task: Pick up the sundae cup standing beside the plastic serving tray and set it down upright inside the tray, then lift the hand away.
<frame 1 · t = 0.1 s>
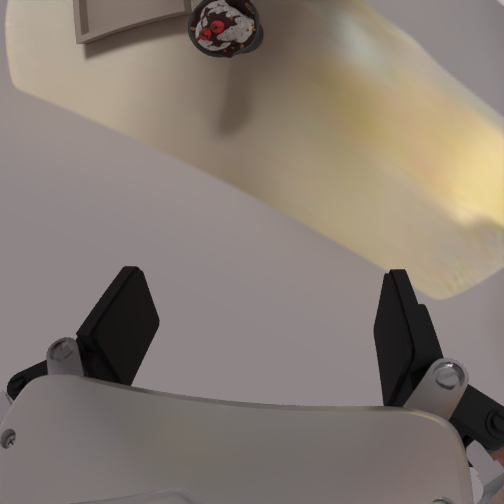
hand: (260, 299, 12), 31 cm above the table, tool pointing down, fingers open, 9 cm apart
sundae: (242, 35, 32), on the table
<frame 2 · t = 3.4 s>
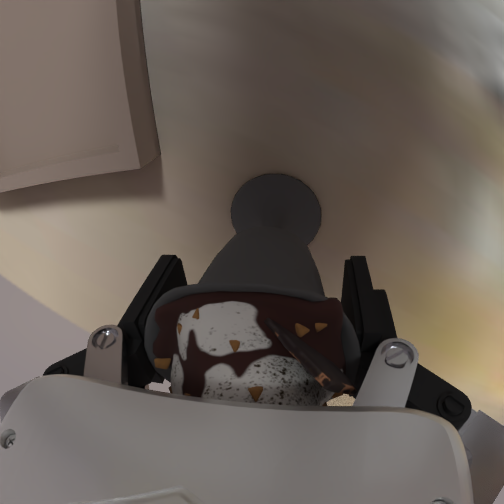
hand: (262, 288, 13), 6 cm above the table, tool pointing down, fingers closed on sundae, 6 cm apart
tray: (32, 31, 13), on the table
sundae: (276, 215, 18), on the table, touching gripper
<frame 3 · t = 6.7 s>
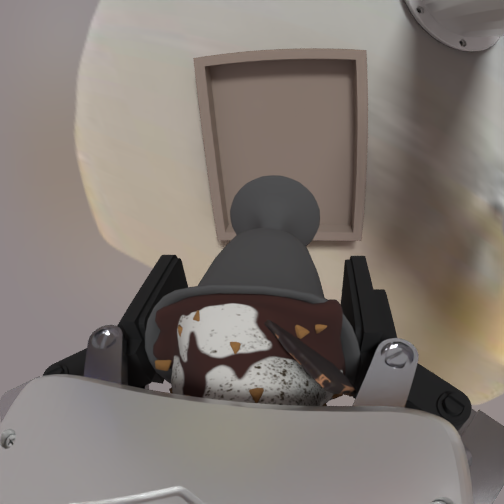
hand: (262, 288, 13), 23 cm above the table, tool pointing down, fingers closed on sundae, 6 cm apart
tray: (286, 144, 32), on the table
sundae: (275, 216, 18), point 17 cm above the table, touching gripper
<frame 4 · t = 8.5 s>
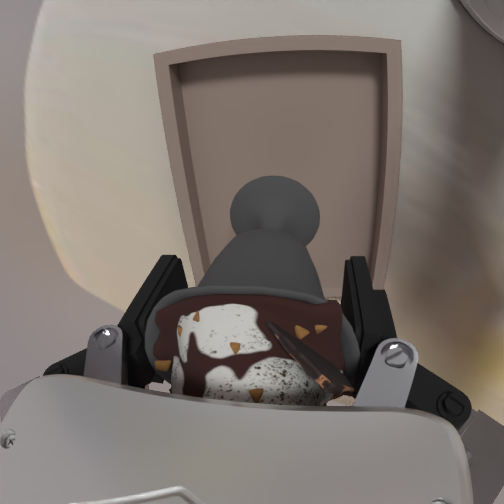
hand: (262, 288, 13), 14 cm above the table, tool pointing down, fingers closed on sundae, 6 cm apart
tray: (286, 171, 24), on the table
sundae: (275, 216, 18), point 7 cm above the table, touching gripper
when the fingers open (8 cm above the table, at t = 10.1 s): sundae drops 1 cm, resting on tray.
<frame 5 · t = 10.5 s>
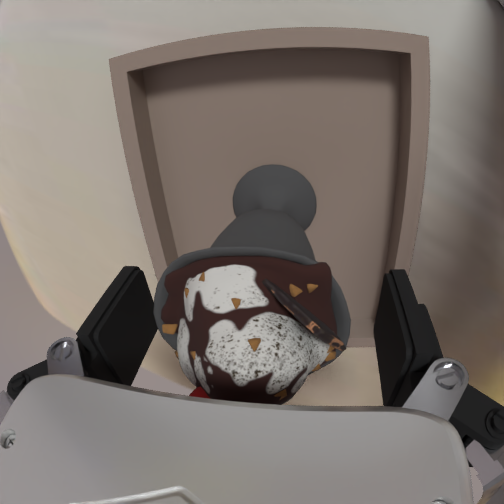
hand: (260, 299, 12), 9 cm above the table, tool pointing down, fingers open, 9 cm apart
tray: (278, 202, 19), on the table
sundae: (274, 203, 19), resting on tray
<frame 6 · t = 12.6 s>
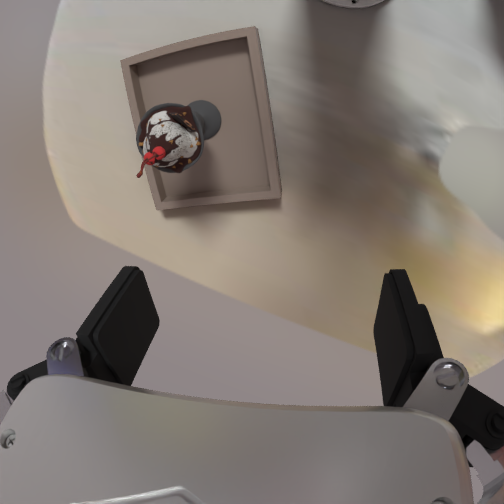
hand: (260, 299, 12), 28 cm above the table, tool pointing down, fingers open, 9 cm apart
tray: (204, 120, 36), on the table
sundae: (201, 120, 36), resting on tray
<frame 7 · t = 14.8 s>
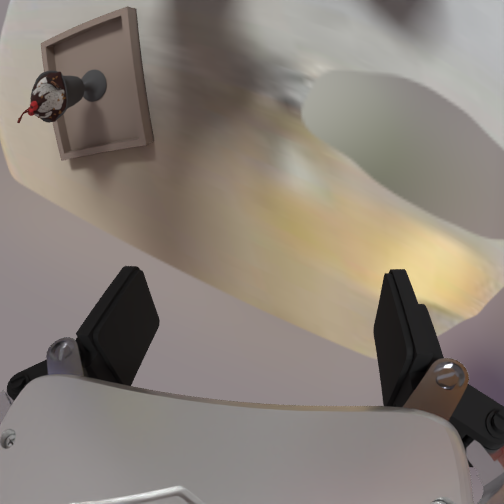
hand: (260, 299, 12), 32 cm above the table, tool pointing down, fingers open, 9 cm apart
tray: (96, 85, 38), on the table
sundae: (94, 85, 38), resting on tray
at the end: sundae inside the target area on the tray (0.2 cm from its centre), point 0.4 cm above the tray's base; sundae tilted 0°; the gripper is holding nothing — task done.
